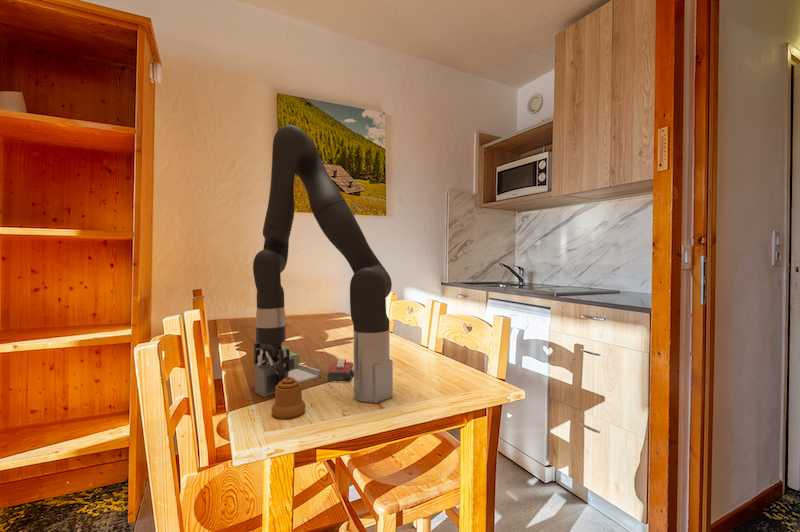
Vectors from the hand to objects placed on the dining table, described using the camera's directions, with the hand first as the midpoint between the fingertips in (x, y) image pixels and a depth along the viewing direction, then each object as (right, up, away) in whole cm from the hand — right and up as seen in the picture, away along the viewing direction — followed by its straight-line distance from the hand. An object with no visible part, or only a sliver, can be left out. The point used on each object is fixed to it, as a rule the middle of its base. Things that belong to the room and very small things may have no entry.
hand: (271, 384), depth 104 cm
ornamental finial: (+9, -2, -14) cm, 17 cm away
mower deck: (0, -1, +14) cm, 15 cm away
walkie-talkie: (+18, -2, +16) cm, 24 cm away
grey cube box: (0, -2, 0) cm, 2 cm away
